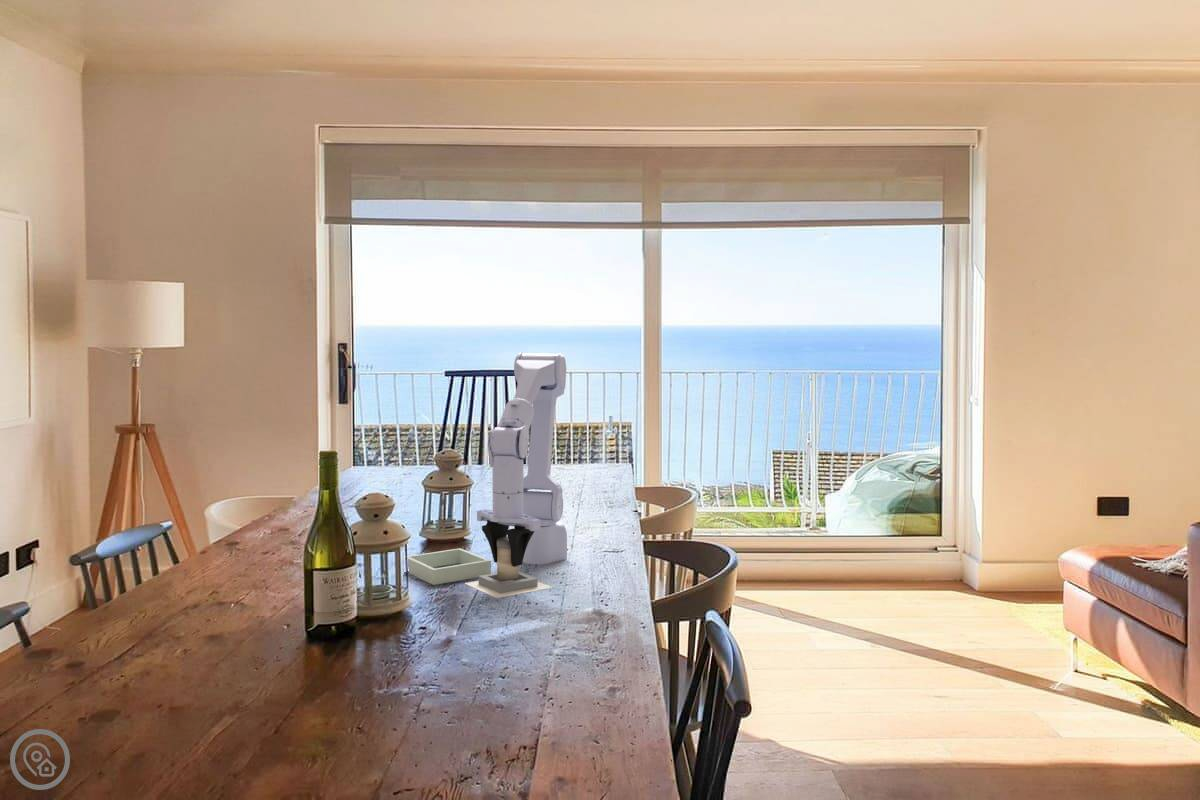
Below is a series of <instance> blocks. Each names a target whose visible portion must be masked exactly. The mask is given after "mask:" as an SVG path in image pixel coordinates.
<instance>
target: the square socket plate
mask: <svg viewBox="0 0 1200 800" xmlns="http://www.w3.org/2000/svg"><path fill="white" fill-rule="evenodd" d="M463 584H464V585H467V586H469V587H471V588H473V589H475V590H478V591H480V592H482V593H484V594H486V595H488V596H491V597H493V598H495V599H500V598H506V597H511V596H517V595H522V594H526V593H532V592H536V591H542V590H543V591H544V590H547V589H552V588H553V587H552V586H551V585H547V584H546V583H542V582H540V581H538V578H537V577H535V576H532V575H529V574H527V573H524V572H521V571H520V570H519V577H517V578H514V579H501V578H498V577H497V572H493V573H492V572H491V574H487V575H481V576H479V577H478V579H477V580H474V581H473V580H472V581H468V582H464V583H463Z"/></svg>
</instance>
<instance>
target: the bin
mask: <svg viewBox="0 0 1200 800" xmlns="http://www.w3.org/2000/svg"><path fill="white" fill-rule="evenodd" d="M407 557H408V567H409V573H408V574H410V575H412V576H415V577H416V578H418V579H419V580H422V581H424V582H426V583H429V584H430V585H432V586H436V585H441V584H447V583H452V582H458V581H463V580H465V581H466V580H469V579H476V578H479V576H481V575H487V574H492V560H490V559H488V558H486V557H483V556H480V555H478V554H476V553H473V552H471V551H469V550H465V549H464V548H453V549H447V550H440V551H433V552H428V553H420V554H414V555H413V554H412V555H407ZM443 566H444V567H443Z"/></svg>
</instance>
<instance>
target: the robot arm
mask: <svg viewBox="0 0 1200 800" xmlns="http://www.w3.org/2000/svg"><path fill="white" fill-rule="evenodd" d="M513 372H514V373H513V375H514V377H515V380H516V383H517V386H516V390H515V395H514V398H513V399H511V400H509V401H507V403H506V404H505V406H504V407H505V408H504V409H503V412H502V414H501V418H500V420H499V422H498V426H496V427H494V428H493V429H491V430H490V431H489V434H488V437H487V452H488V455H489V464H490V465H489V466H490V468H492V509H485V508H483V509H479V510H476V521H477V522H486V523H485V524H484V525H482V526H481V530H482V532H483V534H484V535H485V537H486V539H487V542H488V544H489V547H490V550H491V554H492V558H493V563H495V564H497V539H498V538H501V537H508V539H509V543H510V549H511V564H512V566H513V567H516V566H519V567H520V566H522V565H523V564H527V565H547V564H551V563H555V562H558V561H565V560H566V561H567V560H568V533H567V529H566V527H565V524H564V523H563V522H562V521H561V519H562V517H563V512H564V499H563V498H564V497H563V491H564V490H563V487H562V485H561V484H560V483H559V482H557V480H555V478H553V477H552V476H551V470H552V469H551V468H552V458H553V457H552V455H553V441H554V440H553V439H554V426H555V412H556V411H555V410H556V404H557V398H559V397H561V396H563V395H565V389H566V382H567V361H566V358H565V356H564V355H563V354H562V353H560V352H559V353H524V352H519V353H518V354H517V355H516V357H515V359H514V364H513ZM529 431H530V432H529ZM528 447H529V449H528ZM527 454H528V461H527V462H528V463H527V475H525V477H524V459H525V458H526V456H527ZM532 490H535V491H532ZM536 490H537V491H536ZM538 490H541V491H538ZM510 527H513V528H510Z"/></svg>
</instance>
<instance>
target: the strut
mask: <svg viewBox="0 0 1200 800" xmlns="http://www.w3.org/2000/svg"><path fill="white" fill-rule="evenodd" d="M496 565H497V567H496V573H497V577H498V578H501V579H514V578H517V577H519V571H520V566H516V567H513V566H512V564H511V549H510V543H509V539H508V536H507V537H501V538H498V539H497V563H496Z"/></svg>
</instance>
